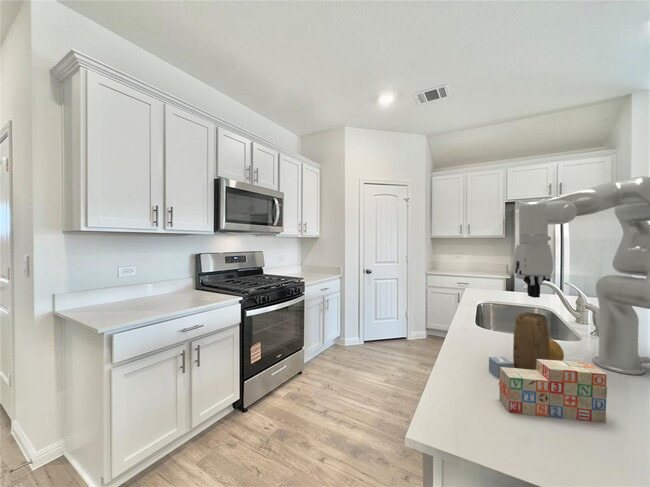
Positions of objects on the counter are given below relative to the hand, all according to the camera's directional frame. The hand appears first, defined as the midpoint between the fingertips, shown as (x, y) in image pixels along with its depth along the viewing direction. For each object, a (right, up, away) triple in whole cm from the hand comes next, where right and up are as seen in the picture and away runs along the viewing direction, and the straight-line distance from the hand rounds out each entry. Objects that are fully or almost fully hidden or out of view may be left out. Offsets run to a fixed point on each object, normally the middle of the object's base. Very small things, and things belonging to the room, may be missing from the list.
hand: (533, 296), depth 93 cm
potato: (+11, -26, +11) cm, 30 cm away
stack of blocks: (-10, -26, -19) cm, 34 cm away
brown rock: (0, -26, 0) cm, 26 cm away
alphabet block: (-10, -26, 0) cm, 28 cm away
